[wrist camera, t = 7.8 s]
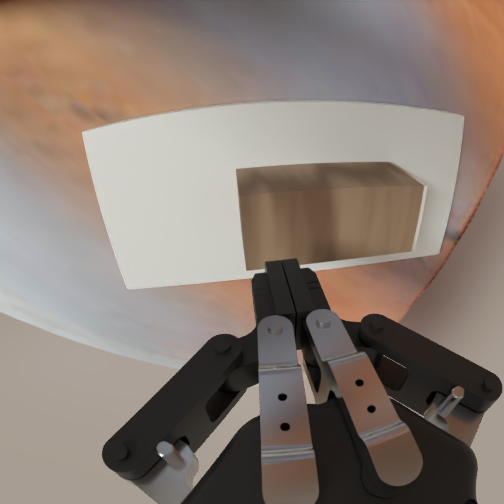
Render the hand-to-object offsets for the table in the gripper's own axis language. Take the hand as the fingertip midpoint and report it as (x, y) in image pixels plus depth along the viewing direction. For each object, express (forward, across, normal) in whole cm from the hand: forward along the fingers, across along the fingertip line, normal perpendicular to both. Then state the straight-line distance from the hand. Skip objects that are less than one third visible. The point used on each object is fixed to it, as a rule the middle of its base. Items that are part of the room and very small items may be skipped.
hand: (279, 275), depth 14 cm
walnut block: (+6, +2, 0) cm, 7 cm away
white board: (+10, -3, 0) cm, 11 cm away
